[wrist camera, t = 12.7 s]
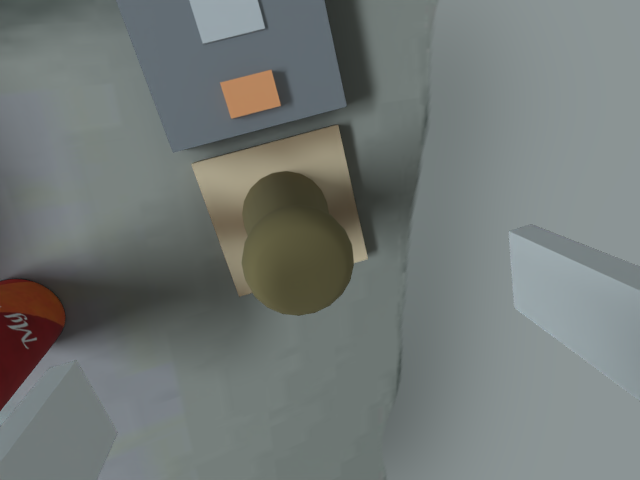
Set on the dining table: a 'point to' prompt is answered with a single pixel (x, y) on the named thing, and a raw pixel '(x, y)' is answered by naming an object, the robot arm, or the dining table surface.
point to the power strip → (233, 64)
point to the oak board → (277, 156)
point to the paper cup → (25, 330)
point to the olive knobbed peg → (293, 245)
